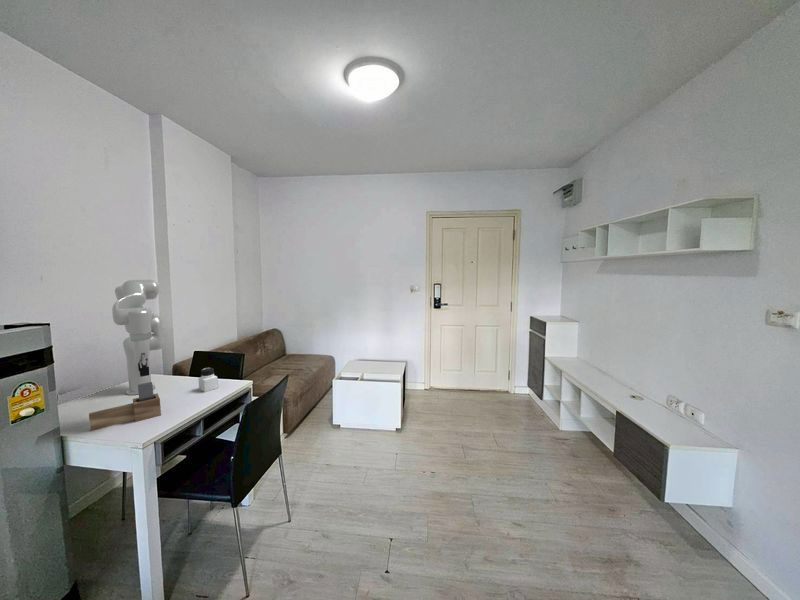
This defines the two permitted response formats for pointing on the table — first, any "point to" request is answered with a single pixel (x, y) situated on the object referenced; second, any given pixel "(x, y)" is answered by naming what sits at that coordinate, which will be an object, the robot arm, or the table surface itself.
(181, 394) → the table surface
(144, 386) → the grey upright block
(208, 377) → the medicine bottle
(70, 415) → the table surface
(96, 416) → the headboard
